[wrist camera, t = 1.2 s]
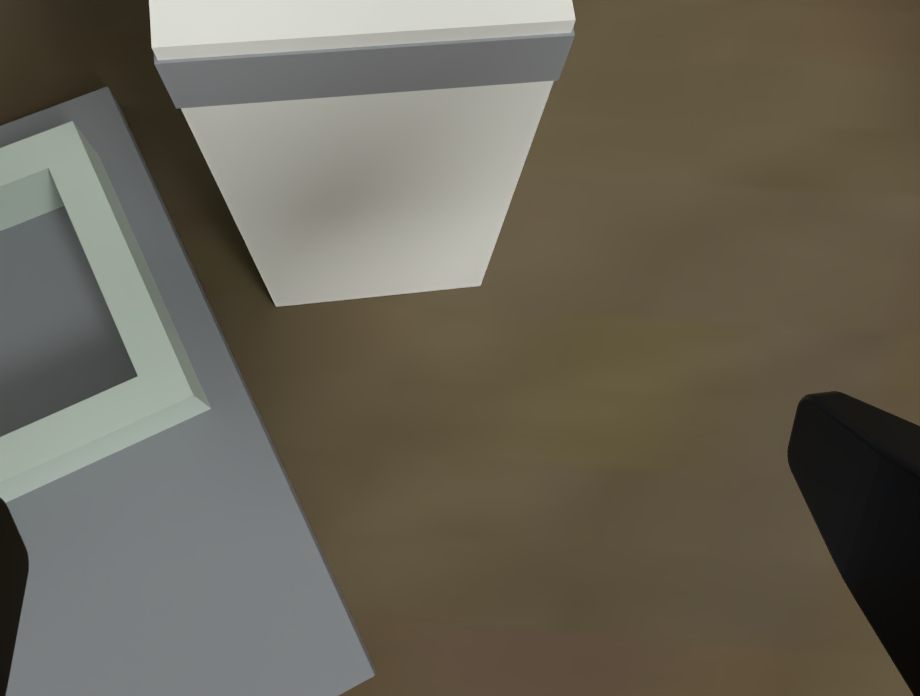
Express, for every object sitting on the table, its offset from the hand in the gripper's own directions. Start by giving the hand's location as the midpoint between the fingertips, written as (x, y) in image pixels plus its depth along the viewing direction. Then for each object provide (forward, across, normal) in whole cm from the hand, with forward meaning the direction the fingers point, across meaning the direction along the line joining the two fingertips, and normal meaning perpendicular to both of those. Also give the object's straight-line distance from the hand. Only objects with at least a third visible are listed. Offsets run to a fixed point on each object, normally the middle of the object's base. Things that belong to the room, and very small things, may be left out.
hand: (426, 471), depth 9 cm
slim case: (+15, 0, +4) cm, 16 cm away
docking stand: (+11, +10, +8) cm, 17 cm away
